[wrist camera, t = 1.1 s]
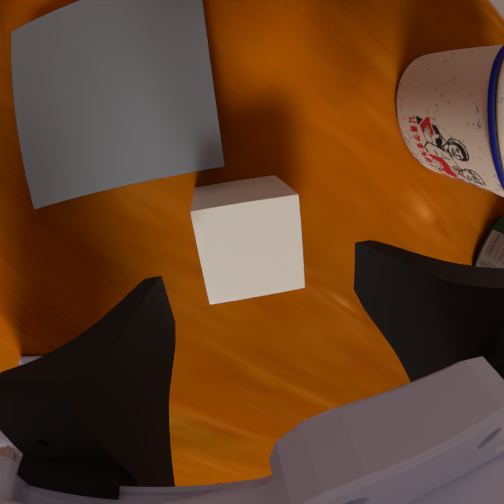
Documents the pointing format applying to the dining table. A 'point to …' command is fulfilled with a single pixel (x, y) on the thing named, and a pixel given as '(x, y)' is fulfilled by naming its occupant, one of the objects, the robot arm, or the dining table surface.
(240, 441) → the dining table surface
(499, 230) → the coffee jar
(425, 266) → the robot arm
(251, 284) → the cream cube
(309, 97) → the dining table surface
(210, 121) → the slate block
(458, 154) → the teacup with lid
